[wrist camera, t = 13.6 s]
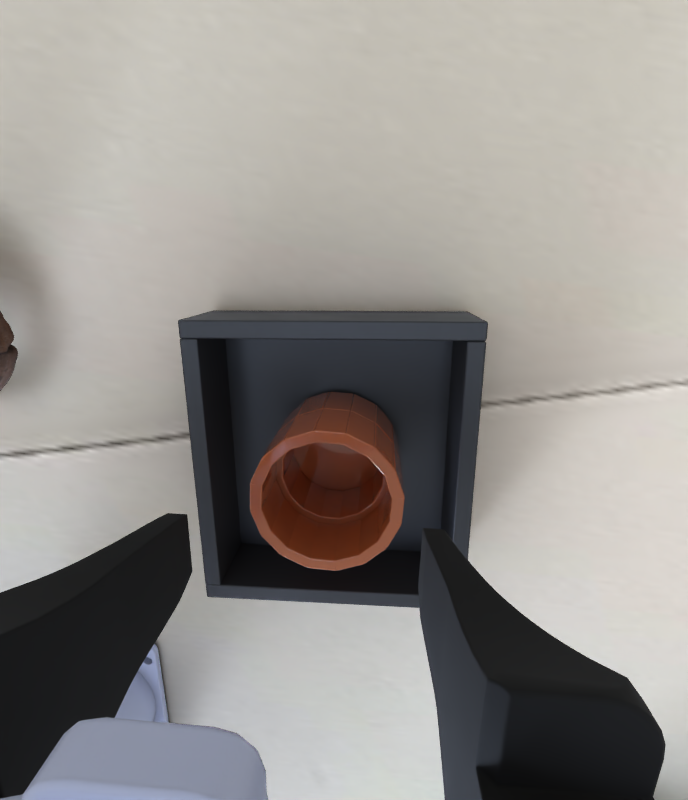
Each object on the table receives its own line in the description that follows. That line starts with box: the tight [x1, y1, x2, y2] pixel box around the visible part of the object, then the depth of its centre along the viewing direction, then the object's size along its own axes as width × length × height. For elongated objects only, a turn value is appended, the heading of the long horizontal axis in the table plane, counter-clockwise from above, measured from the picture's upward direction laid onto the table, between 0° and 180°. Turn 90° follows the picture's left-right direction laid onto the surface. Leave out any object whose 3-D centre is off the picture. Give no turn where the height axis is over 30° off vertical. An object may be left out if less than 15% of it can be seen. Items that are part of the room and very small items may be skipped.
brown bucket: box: [250, 392, 405, 571], centre depth 19 cm, size 6×6×6 cm
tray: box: [178, 311, 488, 608], centre depth 20 cm, size 12×11×4 cm
